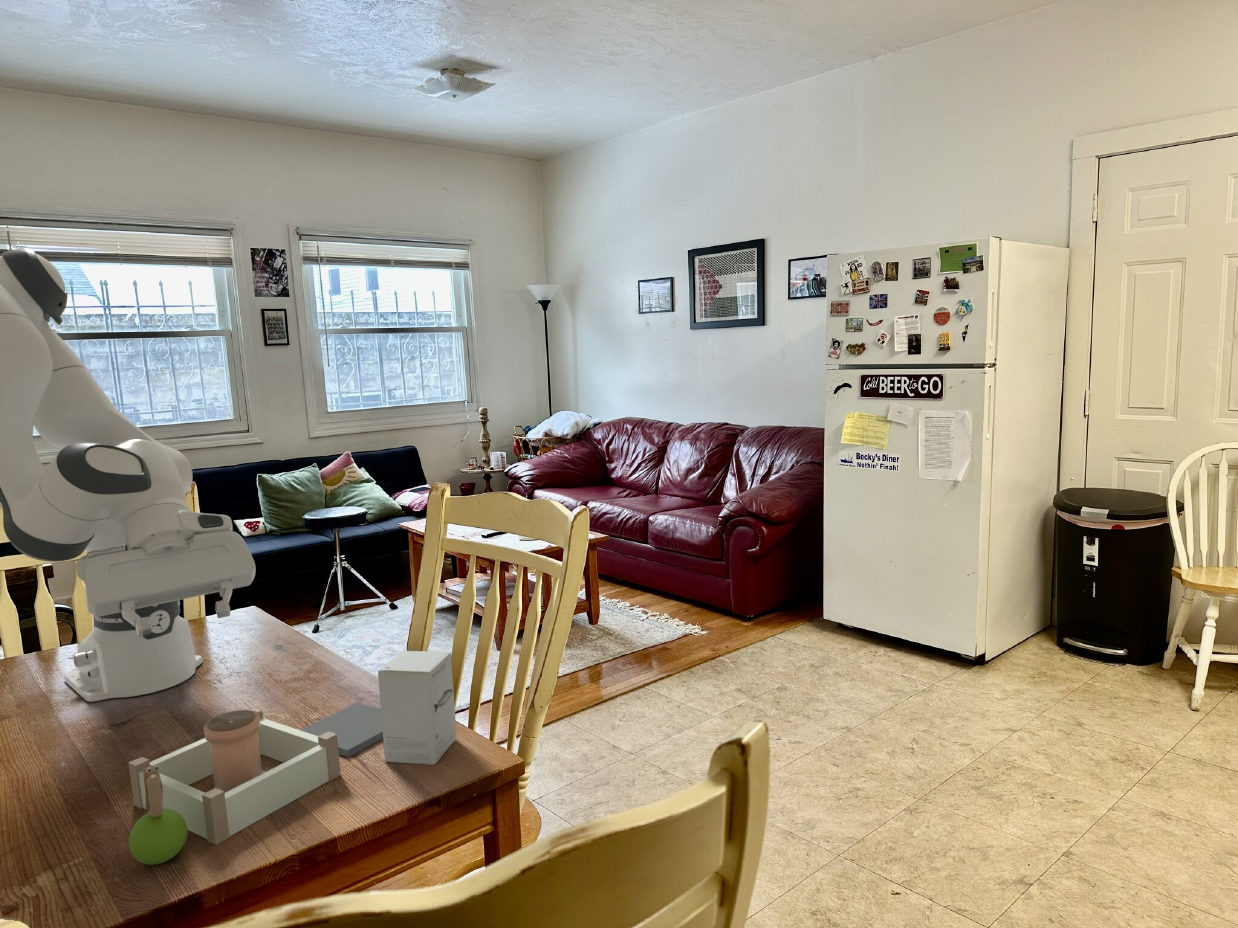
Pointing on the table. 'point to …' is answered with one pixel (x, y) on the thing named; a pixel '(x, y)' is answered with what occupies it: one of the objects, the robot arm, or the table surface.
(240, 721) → the terracotta pot
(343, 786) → the table surface
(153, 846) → the snail figurine
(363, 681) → the table surface
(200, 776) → the raised garden bed frame
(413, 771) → the table surface
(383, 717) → the supplement box
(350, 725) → the rubber mat
